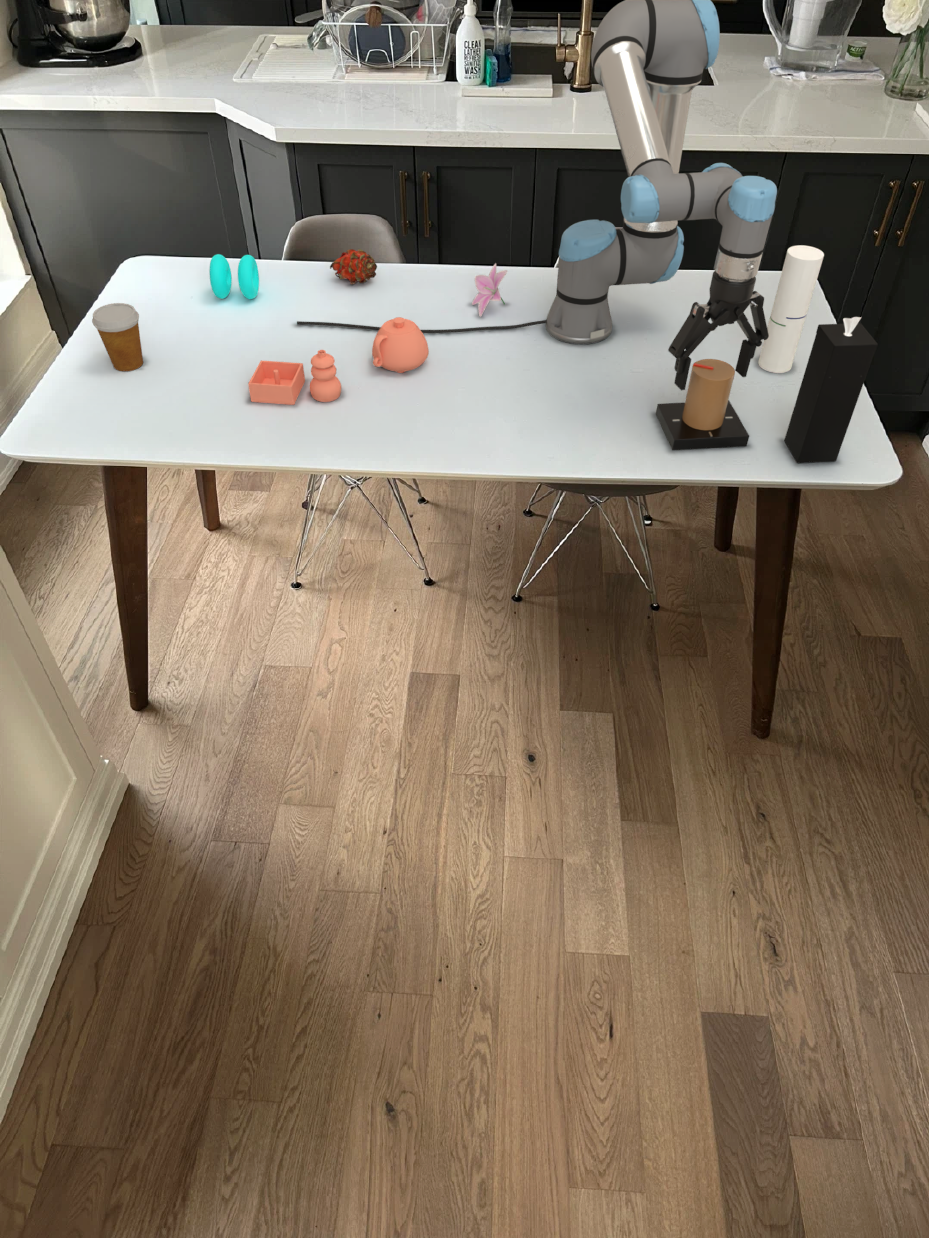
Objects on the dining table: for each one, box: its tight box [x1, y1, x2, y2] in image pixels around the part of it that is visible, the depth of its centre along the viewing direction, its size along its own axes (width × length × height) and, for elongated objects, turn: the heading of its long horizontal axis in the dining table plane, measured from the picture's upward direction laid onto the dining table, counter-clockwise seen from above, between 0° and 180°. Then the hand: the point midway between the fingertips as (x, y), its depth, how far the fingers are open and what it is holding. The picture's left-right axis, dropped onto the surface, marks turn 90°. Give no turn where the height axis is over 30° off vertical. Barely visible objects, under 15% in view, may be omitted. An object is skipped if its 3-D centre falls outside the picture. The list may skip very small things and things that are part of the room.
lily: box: [471, 262, 508, 318], centre depth 218 cm, size 12×12×10 cm
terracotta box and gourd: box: [247, 349, 342, 406], centre depth 189 cm, size 18×10×10 cm, turn 83°
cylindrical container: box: [757, 244, 825, 374], centre depth 194 cm, size 7×7×25 cm
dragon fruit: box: [329, 248, 378, 286], centre depth 228 cm, size 8×8×12 cm
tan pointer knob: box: [682, 358, 736, 430], centre depth 178 cm, size 8×8×11 cm
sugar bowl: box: [371, 316, 430, 374], centre depth 198 cm, size 12×14×10 cm
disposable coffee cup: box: [91, 302, 144, 372], centre depth 196 cm, size 10×10×12 cm
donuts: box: [209, 253, 260, 300], centre depth 220 cm, size 10×10×10 cm
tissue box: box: [783, 316, 879, 464], centre depth 169 cm, size 8×8×28 cm
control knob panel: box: [655, 399, 750, 451], centre depth 183 cm, size 15×13×3 cm
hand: (710, 380), depth 177 cm, fingers open, 13 cm apart
